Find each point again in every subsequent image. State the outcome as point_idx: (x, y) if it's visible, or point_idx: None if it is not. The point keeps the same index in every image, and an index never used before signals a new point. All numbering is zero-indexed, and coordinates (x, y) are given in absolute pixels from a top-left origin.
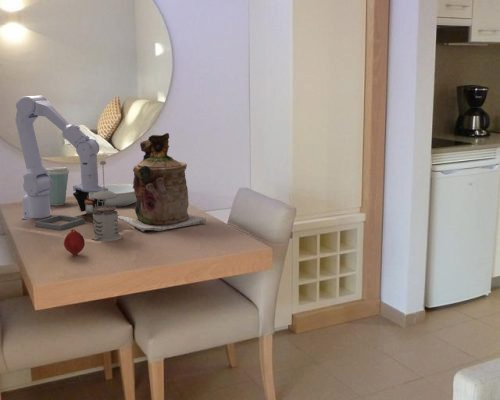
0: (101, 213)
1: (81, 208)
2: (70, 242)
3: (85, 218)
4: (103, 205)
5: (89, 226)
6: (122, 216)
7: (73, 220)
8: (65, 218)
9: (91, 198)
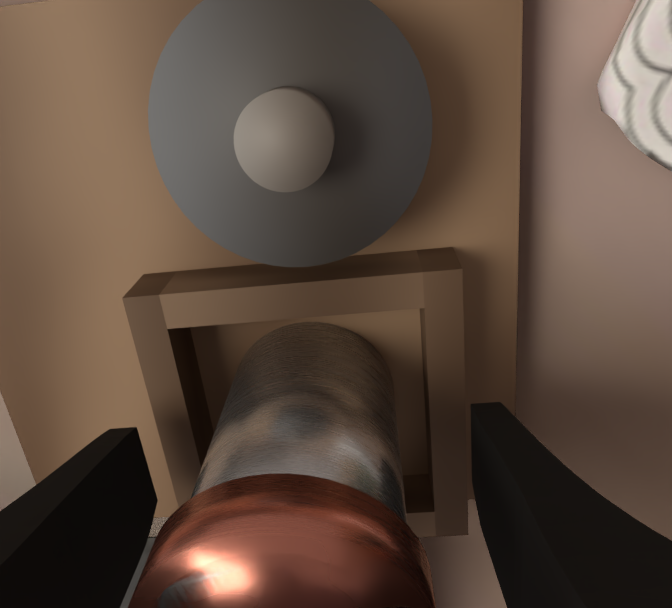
0: (356, 279)
1: (139, 549)
2: None
3: None
4: (568, 480)
5: (469, 524)
6: (665, 31)
7: None
8: None
9: (172, 575)
